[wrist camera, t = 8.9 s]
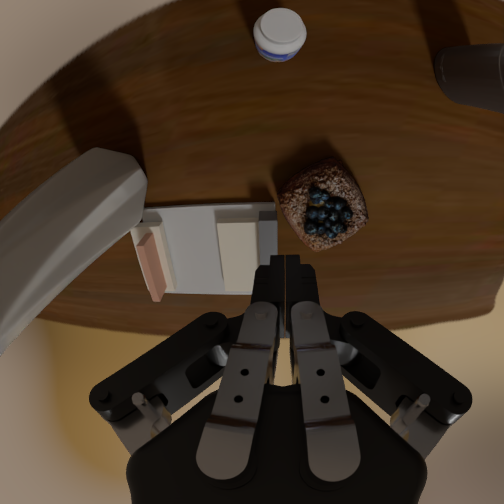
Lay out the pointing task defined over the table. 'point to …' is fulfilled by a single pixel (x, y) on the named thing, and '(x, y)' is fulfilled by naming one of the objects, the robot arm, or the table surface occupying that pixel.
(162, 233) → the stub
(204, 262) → the white tray
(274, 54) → the pill bottle
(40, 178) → the table surface
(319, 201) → the pastry
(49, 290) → the vase
